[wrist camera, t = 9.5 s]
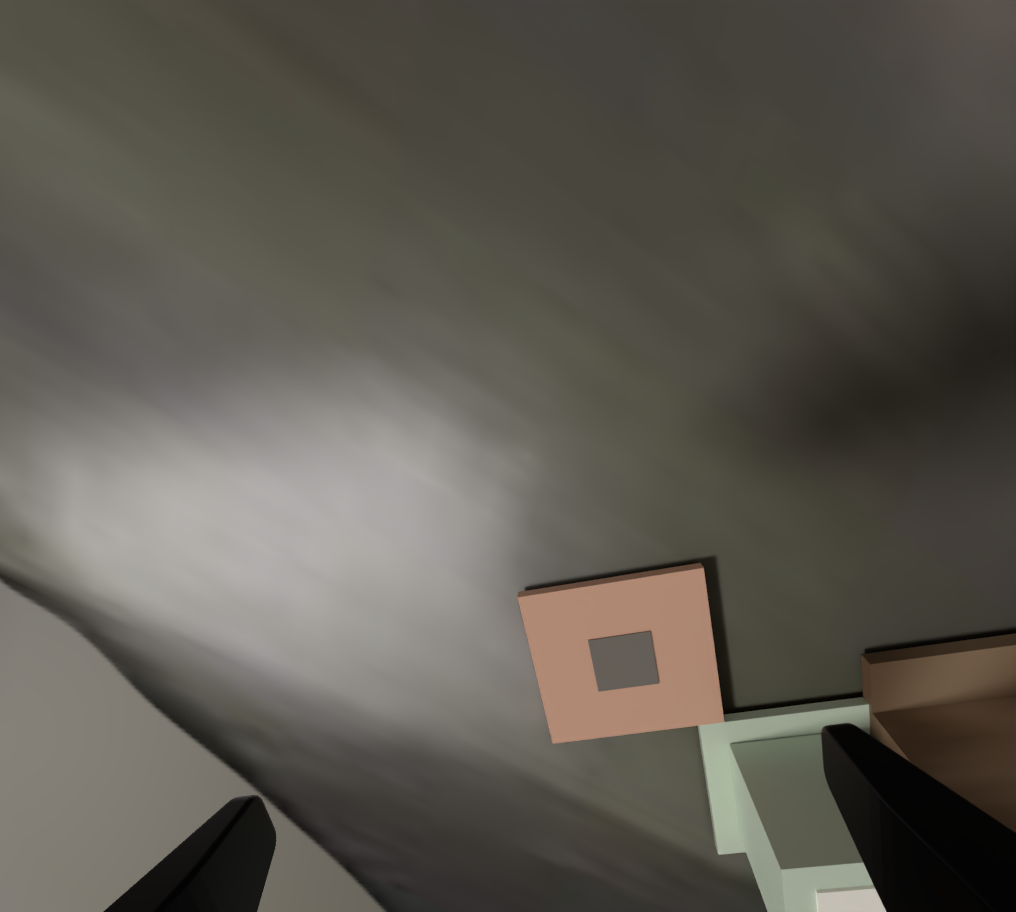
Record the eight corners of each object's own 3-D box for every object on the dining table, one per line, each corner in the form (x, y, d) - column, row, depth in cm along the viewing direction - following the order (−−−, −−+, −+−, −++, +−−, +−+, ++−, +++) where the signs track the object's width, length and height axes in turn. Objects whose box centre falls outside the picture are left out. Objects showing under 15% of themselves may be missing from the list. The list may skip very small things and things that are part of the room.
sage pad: (876, 695, 21) (883, 703, 21) (882, 829, 23) (888, 839, 23) (696, 718, 22) (699, 726, 22) (715, 845, 24) (718, 856, 24)
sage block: (859, 729, 21) (952, 858, 16) (863, 827, 23) (950, 973, 18) (729, 744, 22) (782, 872, 17) (741, 839, 23) (793, 983, 18)
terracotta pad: (700, 562, 20) (704, 568, 20) (721, 715, 22) (724, 723, 22) (517, 591, 21) (517, 598, 21) (552, 736, 23) (552, 744, 22)
